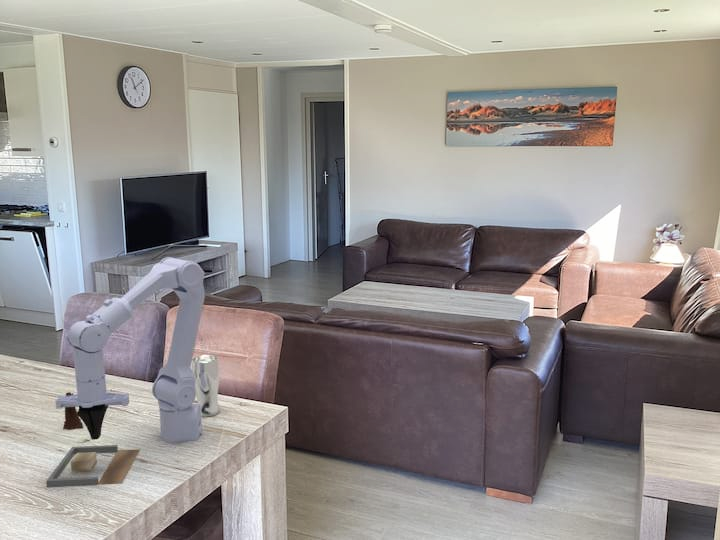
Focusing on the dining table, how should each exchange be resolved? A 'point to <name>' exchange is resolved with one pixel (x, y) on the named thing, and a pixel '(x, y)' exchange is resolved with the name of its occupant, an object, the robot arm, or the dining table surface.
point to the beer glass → (206, 383)
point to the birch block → (83, 462)
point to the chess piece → (72, 418)
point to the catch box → (53, 480)
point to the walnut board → (119, 467)
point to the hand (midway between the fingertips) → (96, 437)
